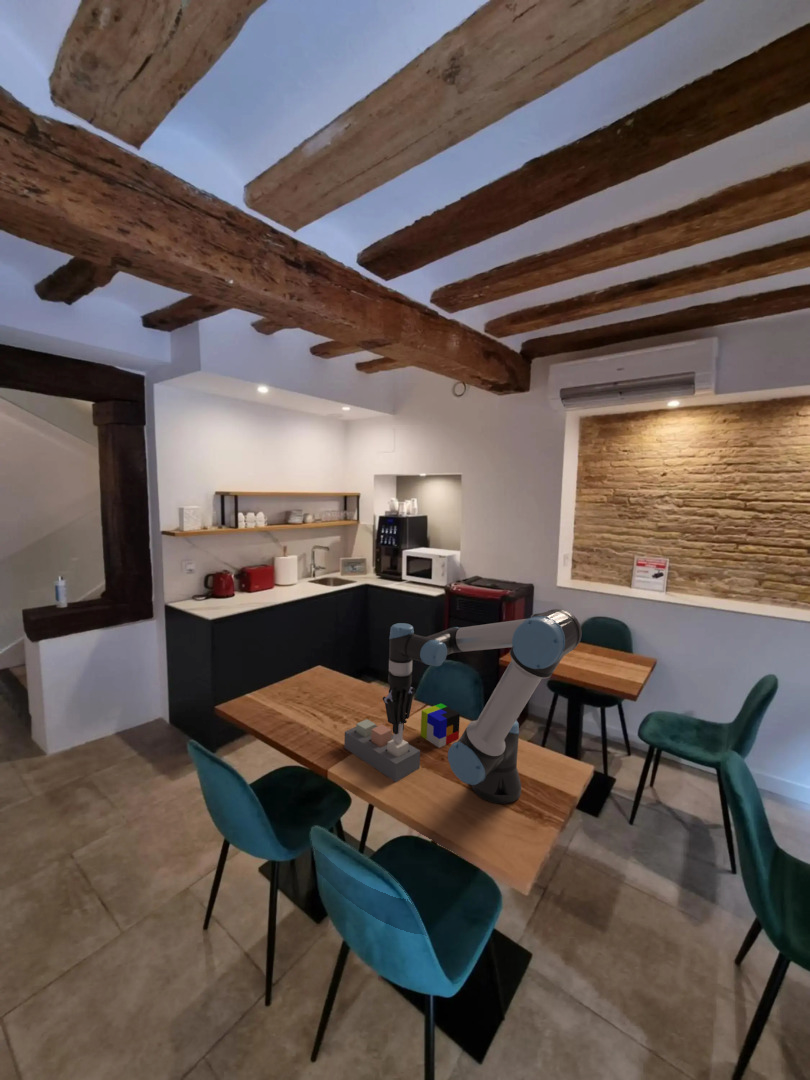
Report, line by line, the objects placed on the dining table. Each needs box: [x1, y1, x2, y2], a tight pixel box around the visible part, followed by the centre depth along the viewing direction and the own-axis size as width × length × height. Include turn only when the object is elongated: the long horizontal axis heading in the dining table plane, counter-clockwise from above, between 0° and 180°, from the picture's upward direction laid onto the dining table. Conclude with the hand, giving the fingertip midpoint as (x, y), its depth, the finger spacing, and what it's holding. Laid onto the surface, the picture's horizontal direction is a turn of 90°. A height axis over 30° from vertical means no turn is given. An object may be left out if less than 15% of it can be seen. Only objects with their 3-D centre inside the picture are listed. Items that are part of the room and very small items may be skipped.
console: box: [343, 725, 421, 783], centre depth 154 cm, size 26×11×6 cm, turn 45°
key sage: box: [355, 718, 377, 738], centre depth 160 cm, size 5×5×8 cm
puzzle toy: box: [420, 702, 461, 748], centre depth 168 cm, size 10×10×10 cm
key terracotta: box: [371, 724, 393, 748], centre depth 154 cm, size 5×5×8 cm
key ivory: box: [387, 739, 409, 758], centre depth 148 cm, size 5×5×8 cm
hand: (397, 741), depth 148 cm, fingers closed
